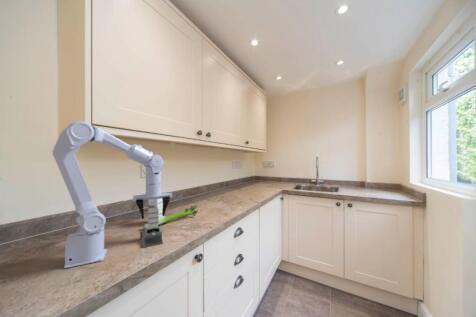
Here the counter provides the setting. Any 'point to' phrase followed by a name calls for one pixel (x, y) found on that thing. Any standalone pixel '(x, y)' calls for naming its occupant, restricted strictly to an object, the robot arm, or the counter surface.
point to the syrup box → (157, 203)
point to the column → (153, 218)
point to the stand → (151, 237)
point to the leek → (176, 216)
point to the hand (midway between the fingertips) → (153, 216)
